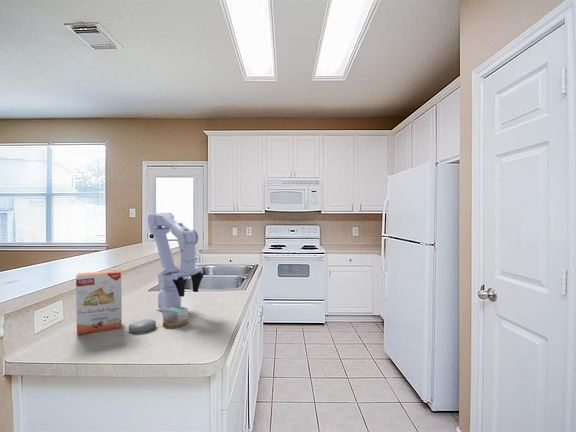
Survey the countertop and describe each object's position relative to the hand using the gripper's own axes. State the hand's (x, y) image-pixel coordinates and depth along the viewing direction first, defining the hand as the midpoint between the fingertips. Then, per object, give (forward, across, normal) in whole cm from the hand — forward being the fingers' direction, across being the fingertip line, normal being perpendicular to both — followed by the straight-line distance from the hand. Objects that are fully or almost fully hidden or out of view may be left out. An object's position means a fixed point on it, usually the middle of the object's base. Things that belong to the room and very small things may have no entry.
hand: (188, 293), depth 127 cm
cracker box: (+10, -24, +20) cm, 33 cm away
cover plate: (+5, -8, -1) cm, 9 cm away
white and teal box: (+8, -8, -1) cm, 11 cm away
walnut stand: (+9, -8, -1) cm, 12 cm away
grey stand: (+9, -17, +6) cm, 20 cm away
